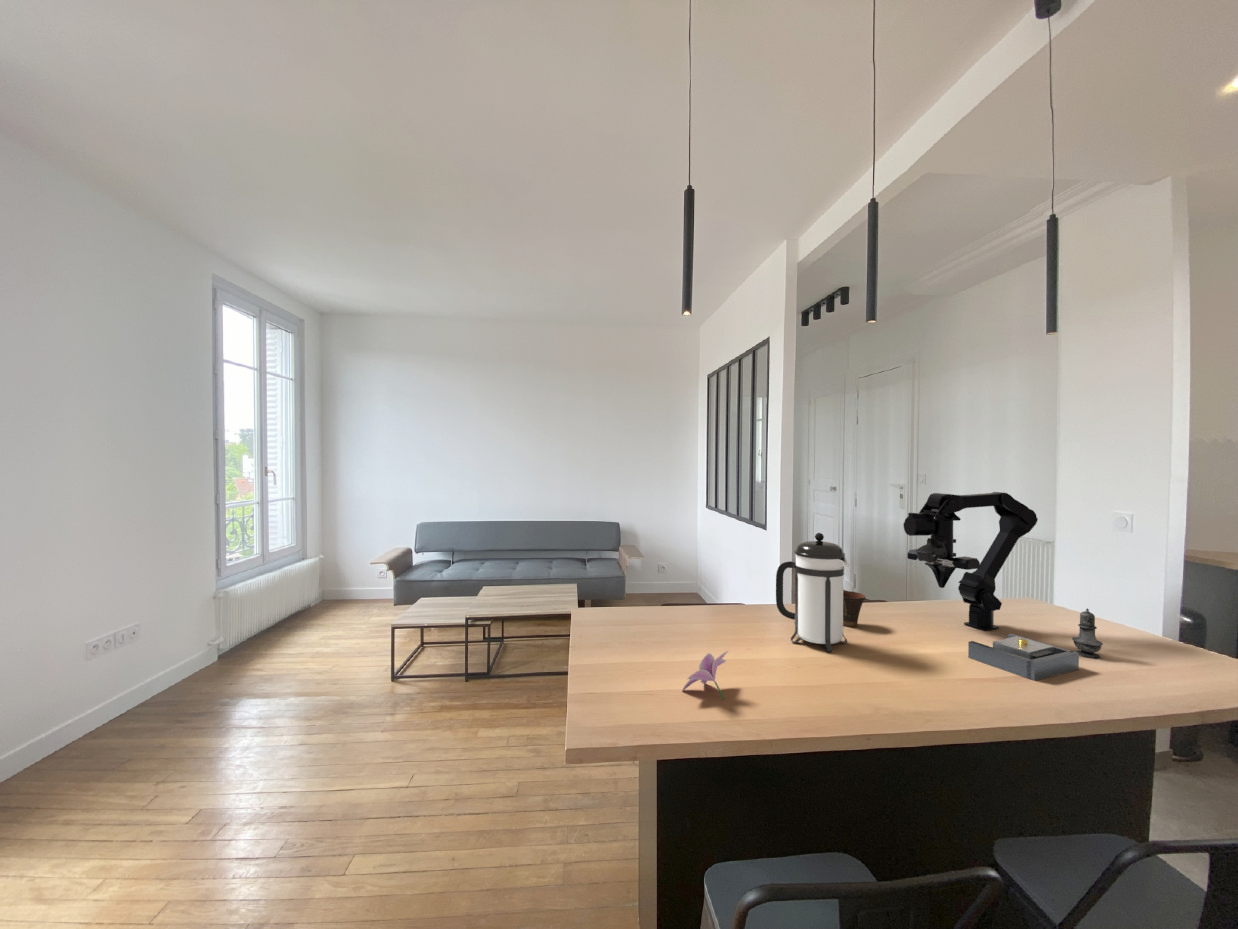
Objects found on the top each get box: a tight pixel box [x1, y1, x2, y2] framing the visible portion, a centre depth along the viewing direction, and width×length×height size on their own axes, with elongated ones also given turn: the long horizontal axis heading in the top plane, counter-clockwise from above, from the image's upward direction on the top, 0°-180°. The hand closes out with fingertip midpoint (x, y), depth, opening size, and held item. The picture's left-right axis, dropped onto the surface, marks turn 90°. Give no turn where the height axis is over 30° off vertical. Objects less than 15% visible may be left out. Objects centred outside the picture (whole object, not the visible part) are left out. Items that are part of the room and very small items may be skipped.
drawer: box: [992, 635, 1055, 660], centre depth 125 cm, size 10×9×6 cm
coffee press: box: [775, 532, 850, 653], centre depth 139 cm, size 17×16×30 cm
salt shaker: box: [1071, 608, 1104, 660], centre depth 131 cm, size 6×6×12 cm
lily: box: [681, 650, 729, 701], centre depth 108 cm, size 12×12×10 cm
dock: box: [967, 633, 1080, 682], centre depth 125 cm, size 17×15×4 cm
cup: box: [843, 590, 866, 628], centre depth 154 cm, size 9×9×10 cm
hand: (941, 587), depth 152 cm, fingers closed
